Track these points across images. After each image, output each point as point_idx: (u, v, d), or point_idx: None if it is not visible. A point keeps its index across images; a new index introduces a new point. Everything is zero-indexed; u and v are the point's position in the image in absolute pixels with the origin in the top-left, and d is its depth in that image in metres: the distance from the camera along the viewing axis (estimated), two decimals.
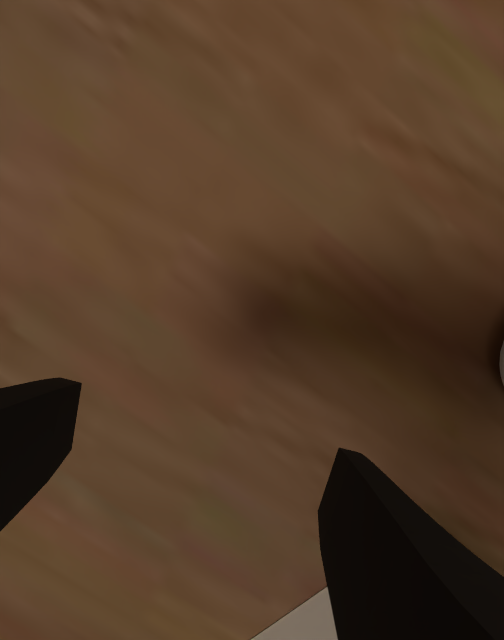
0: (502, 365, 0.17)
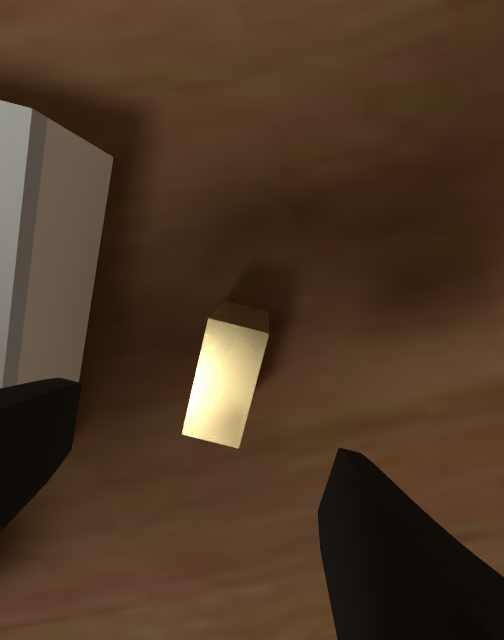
0: None
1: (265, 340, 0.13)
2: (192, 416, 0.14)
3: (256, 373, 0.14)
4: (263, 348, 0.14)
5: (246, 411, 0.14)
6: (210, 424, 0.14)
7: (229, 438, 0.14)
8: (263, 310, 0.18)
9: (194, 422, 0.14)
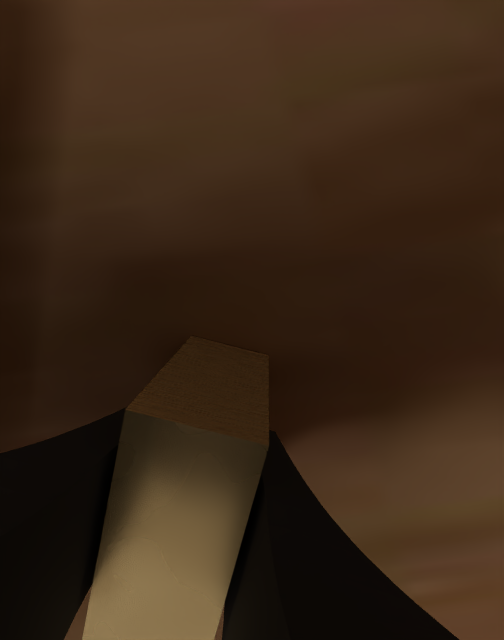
0: None
1: (260, 461, 0.06)
2: (102, 612, 0.06)
3: (240, 530, 0.06)
4: (255, 477, 0.06)
5: (218, 605, 0.06)
6: (141, 629, 0.07)
7: None
8: (259, 354, 0.10)
9: (106, 624, 0.07)
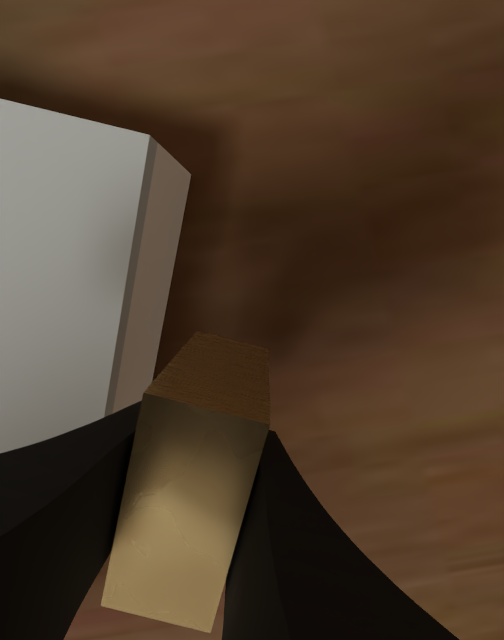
0: None
1: (262, 438, 0.06)
2: (120, 575, 0.07)
3: (243, 500, 0.07)
4: (258, 453, 0.07)
5: (223, 568, 0.07)
6: (154, 590, 0.07)
7: (192, 615, 0.07)
8: (260, 348, 0.11)
9: (124, 586, 0.07)
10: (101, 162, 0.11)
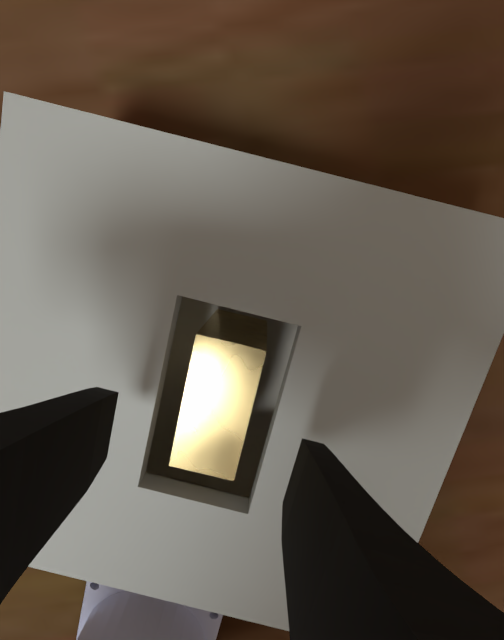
0: None
1: (262, 358, 0.12)
2: (180, 445, 0.12)
3: (252, 396, 0.12)
4: (260, 367, 0.12)
5: (241, 439, 0.12)
6: (201, 454, 0.12)
7: (223, 470, 0.12)
8: (261, 320, 0.16)
9: (182, 452, 0.12)
10: (484, 256, 0.10)
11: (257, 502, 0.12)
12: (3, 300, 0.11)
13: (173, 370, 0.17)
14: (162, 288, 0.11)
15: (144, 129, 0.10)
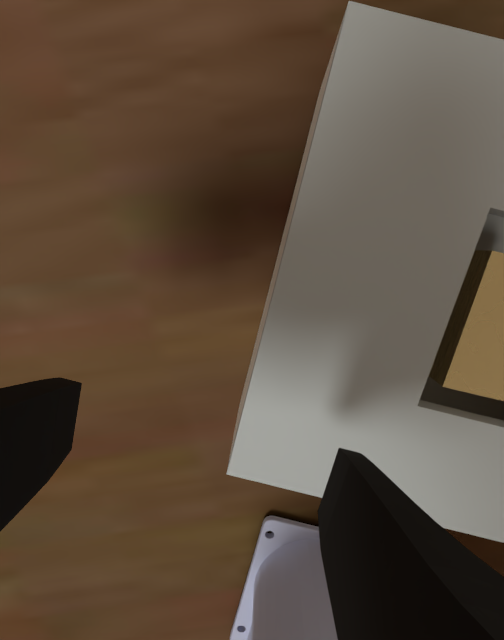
0: None
1: None
2: (458, 365, 0.13)
3: None
4: None
5: None
6: (477, 374, 0.13)
7: (497, 390, 0.13)
8: None
9: (459, 372, 0.13)
10: None
11: None
12: (312, 215, 0.11)
13: None
14: (476, 200, 0.11)
15: (485, 37, 0.10)
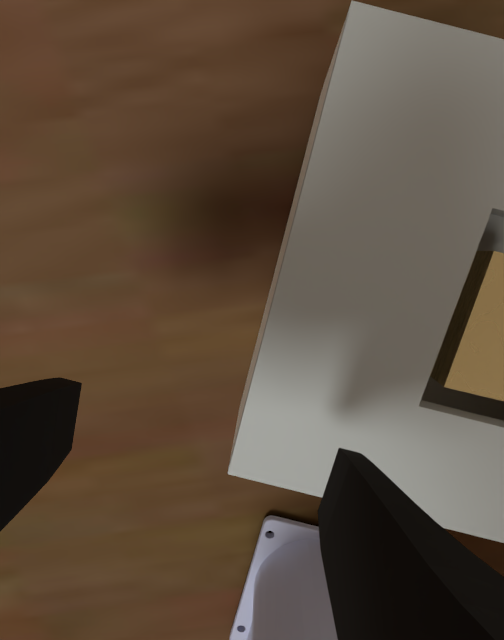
0: None
1: None
2: (459, 365, 0.13)
3: None
4: None
5: None
6: (478, 375, 0.13)
7: (498, 390, 0.13)
8: None
9: (460, 373, 0.13)
10: None
11: None
12: (314, 215, 0.11)
13: None
14: (479, 201, 0.11)
15: (488, 37, 0.10)
